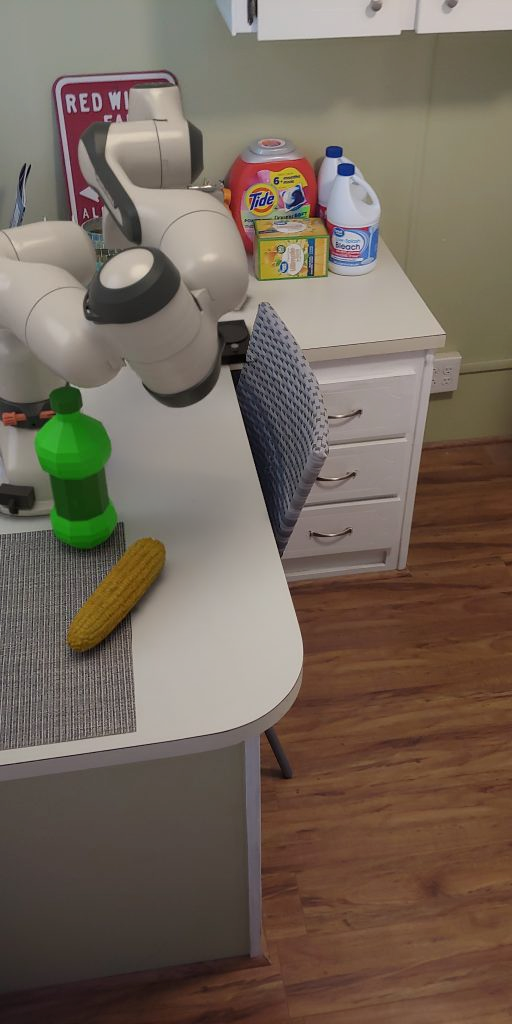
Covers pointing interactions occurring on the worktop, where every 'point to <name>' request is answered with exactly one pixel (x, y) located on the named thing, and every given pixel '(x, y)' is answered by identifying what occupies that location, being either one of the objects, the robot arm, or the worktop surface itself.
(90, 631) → the food
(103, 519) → the plastic bottle
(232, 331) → the hot plate
